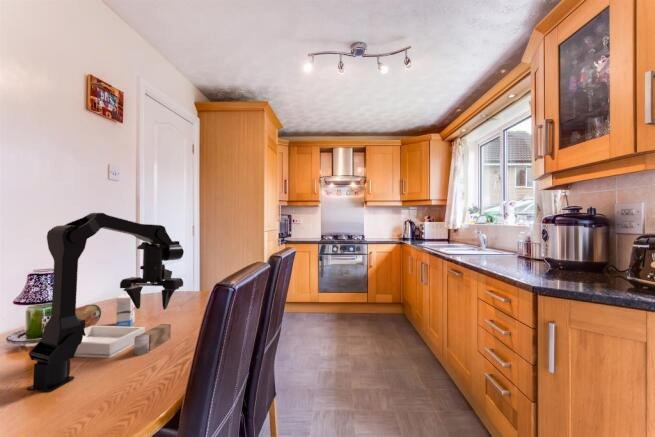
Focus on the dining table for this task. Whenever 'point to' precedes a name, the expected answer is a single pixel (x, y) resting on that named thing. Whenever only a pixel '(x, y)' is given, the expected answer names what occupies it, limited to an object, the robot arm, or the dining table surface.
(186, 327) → the dining table surface
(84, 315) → the tin
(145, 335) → the strut
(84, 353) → the bin
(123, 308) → the ink box
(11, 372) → the dining table surface
